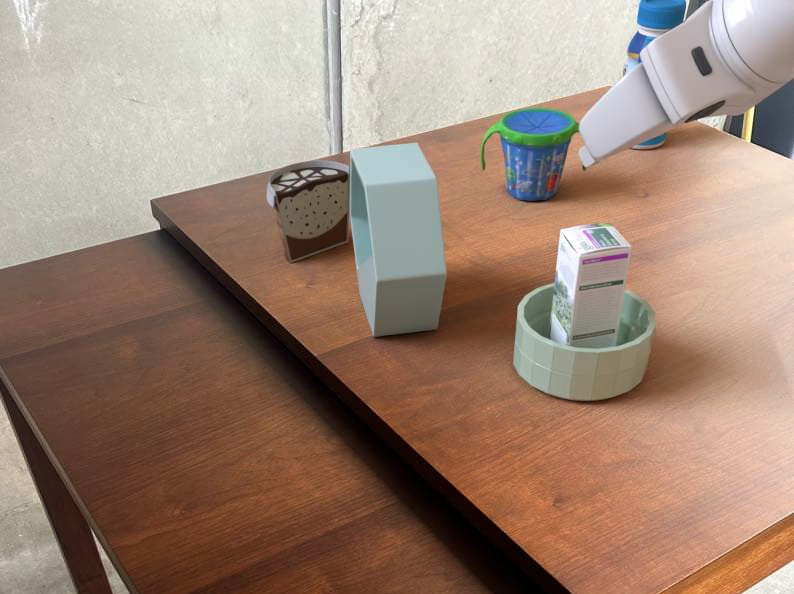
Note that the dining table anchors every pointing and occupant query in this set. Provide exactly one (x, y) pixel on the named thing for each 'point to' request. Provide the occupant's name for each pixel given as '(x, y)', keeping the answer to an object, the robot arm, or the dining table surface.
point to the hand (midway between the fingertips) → (618, 144)
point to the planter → (397, 238)
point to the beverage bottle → (654, 18)
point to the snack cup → (533, 150)
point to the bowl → (582, 351)
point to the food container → (310, 206)
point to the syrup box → (589, 286)
